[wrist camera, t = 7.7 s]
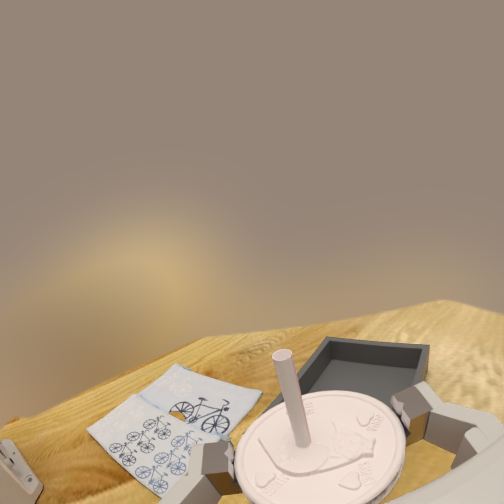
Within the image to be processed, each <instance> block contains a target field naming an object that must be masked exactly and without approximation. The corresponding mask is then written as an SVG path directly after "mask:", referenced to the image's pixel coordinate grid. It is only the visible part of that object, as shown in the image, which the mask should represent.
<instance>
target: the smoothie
mask: <svg viewBox="0 0 504 504" xmlns="http://www.w3.org/2000/svg"><path fill="white" fill-rule="evenodd" d="M272 358H273V361H274V365H275V369H276V372H277V376H278V380H279V383H280V387H281V391H282V394H283V398H284V402H282V403H280V404H278V405H276V406H275V407H273V408H271V409H270V410H268V411H267V412H265V413H264V414H262V415H261V416H260V417H259V418H258V419H256V420H255V421H254V422H253V423H252V424H251V425H250V426H249V428H248V429H247V430H246V431H245V433H244V434H243V436H242V438H241V439H240V441H239V444H238V446H237V449H236V452H235V458H234V468H235V474H236V478H237V480H238V483H239V485H240V486H241V488H242V491H243V494H244V495H245V497H246V498H247V499H248V501H249V502H250V503H251V504H378V503H380V502H381V501H382V500H383V499H384V498H385V497H386V496H387V495H388V494H389V493H390V491H391V490H392V488H393V487H394V485H395V484H396V482H397V481H398V479H399V478H400V475H401V472H402V468H403V465H404V461H405V444H406V440H405V433H404V429H403V426H402V424H401V422H400V420H399V418H398V417H397V416H396V414H395V413H394V412H393V411H392V410H391V409H390V408H389V407H388V406H387V405H385V404H384V403H382V402H381V401H379V400H377V399H375V398H373V397H370V396H368V395H365V394H361V393H357V392H351V391H338V390H333V391H320V392H314V393H308V394H305V395H301V391H300V387H299V382H298V378H297V373H296V369H295V364H294V360H293V355H292V352H291V351H290V350H288V349H281V350H278V351H276V352H275V353H274V354H273V356H272Z"/></svg>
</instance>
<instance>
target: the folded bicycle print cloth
mask: <svg viewBox="0 0 504 504" xmlns="http://www.w3.org/2000/svg"><path fill="white" fill-rule="evenodd" d="M262 395H263V392H262V391H260V390H255V389H248V388H244V387H240V386H236V385H233V384H230V383H227V382H223V381H220V380H217V379H213V378H210V377H207V376H204V375H201V374H198V373H195V372H192V370H190V369H188V368H186V367H183V366H181V365H179V364H177V363H175V364H174V365H172V366H171V368H170V369H169V370H168V371H166V372H165V373H164V374H163V375H162V376H161V377H160V378H158V379H157V380H156V381H154V382H153V383H152V384H150V385H149V386H148V387H146V388H145V389H144V390H142V391H141V392H140V393H138V394H133V395H131V396H130V397H129V398H128V399H127V400H125V401H124V402H123V403H122V404H120V405H119V406H118V407H116V408H115V409H113V410H112V411H111V412H110V413H109V414H107V415H106V416H105V417H104V418H102V419H100V420H99V421H97V422H96V423H95V424H94V425H92V426H90V427H88V428H86V431H87V432H88V433H89V434H90V435H91V436H92V437H93V438H94V439H95V440H96V441H97V442H98V443H99V444H100V445H101V446H102V447H103V448H104V449H105V451H106V452H107V453H108V454H109V455H110V456H111V457H112V458H113V459H115V460H116V461H117V462H118V463H119V464H120V465H121V466H122V467H123V468H124V469H126V470H127V471H128V472H129V473H130V474H131V475H132V476H134V477H135V478H136V479H137V480H138V481H139V482H140V483H142V484H143V485H144V486H146V487H147V488H148V489H149V490H150V491H152V492H153V493H155V494H156V495H158V496H159V497H160V498H163V497H164V496H165V495H166V494H167V493H168V492H169V491H170V490H171V489H172V488H173V487H174V486H175V485H176V484H177V483H178V482H179V481H180V480H181V479H182V478H183V477H184V476H188V468H189V460H190V452H191V447H192V445H193V444H204V443H214V442H223V441H227V440H229V439H231V437H228V435H229V434H230V433H231V432H232V431H233V430H234V429H235V427H236V426H237V425H238V424H239V423H240V422H241V420H242V419H243V418H244V417H245V416H246V415H247V414H248V413H249V412H250V410H251V409H252V408H253V407H254V406H255V405H256V403H257V402H258V401H259V399H260V398H261V396H262ZM169 412H181V413H183V414H184V417H185V420H186V422H183V421H181V420H179V419H177V418H175V417H173V416H172V415H170V414H168V413H169Z"/></svg>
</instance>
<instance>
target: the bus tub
mask: <svg viewBox="0 0 504 504" xmlns="http://www.w3.org/2000/svg"><path fill="white" fill-rule="evenodd" d="M429 349H430V345H422V344H405V343H390V342H377V341H366V340H355V339H345V338H336V337H327V336H326V338H325V339H324V340H323V342H322V343H321V344H320V346H319V347H318V348H317V349H316V351H315V352H314V353H313V354H312V356H311V357H310V358H309V359H308V361H307V362H306V363H305V364H304V366H303V367H302V368H301V369H300V371H299V372H298V373H297V378H298V382H299V387H300V391H301V395H305V394H308V393H314V392H320V391H333V390H338V391H351V392H357V393H361V394H365V395H368V396H370V397H373V398H375V399H377V400H379V401H381V402H382V403H384V404H385V405H387V406H388V407H389V408H391V407H392V405H391V403H390V397H391V395H394V394H396V393H398V392H400V391H403V390H405V389H407V388H409V387H411V386H414V385H416V384H418V383H420V382H423V381H425V378H426V374H427V370H428V360H429ZM282 402H284V398H283V394H282V392H281V393H280V394H279V395H278V396H277V397H276V399H275V400H274V401H273V402H272V403H271V404H270V405H269V406H268V407H267V409H266V410H265V411H264V412H263V413H262V414H264V413H265V412H267V411H268V410H270V409H271V408H273V407H275V406H276V405H278V404H280V403H282ZM262 414H261V415H262ZM261 415H260V416H261ZM260 416H259V417H260ZM259 417H258V418H259ZM258 418H257V419H258ZM244 433H245V432H244ZM244 433H243V434H244Z"/></svg>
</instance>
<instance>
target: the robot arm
mask: <svg viewBox="0 0 504 504" xmlns="http://www.w3.org/2000/svg"><path fill="white" fill-rule="evenodd" d="M390 403H391V405H392V407H391V408H390V409H391V410H392V411H393V412H394V413H395V414H396V416H397V417H398V418H399V420H400V422H401V424H402V426H403V429H404V433H405V440H406V444H405V447H406V446H409V445H411V444H413V443H415V442H418V441H420V440H422V439H424V440H426V441H428V442H430V443H432V444H434V445H436V446H438V447H440V448H443V449H445V450H447V451H449V452H451V453H454V454H456V456H455V458H454V461H453V463H452V465H451V469H452V470H451V471H449V472H448V473H446V474H444V475H442V476H441V477H439V478H437V479H435V480H433V481H431V482H429V483H428V484H426V485H424V486H422V487H420V488H418V489H416V490H413V491H411V492H409V493H407V494H405V495H403V496H400V497H398V498H396V499H394V500H391V501H389V502H386V503H384V504H504V426H503V424H502V423H501V422H500V421H499V420H498V419H497V418H496V417H495V416H494V415H493V414H492V413H488V412H484V411H480V410H476V409H472V408H468V407H464V406H460V405H457V404H453V403H449V402H446V403H444V402H443V401H442V400H441V399H440V398H439V397H438V395H437V394H436V393H435V392H434V391H433V390H432V388H431V387H430V386H429V385H428V384H427V383H426V382H425V381H423V382H420V383H418V384H416V385H414V386H411V387H409V388H407V389H405V390H403V391H400V392H398V393H396V394H394V395H391V397H390ZM235 452H236V451H234V449H233V444H232V442H231V441H223V442H214V443H204V444H193V445H192V447H191V452H190V460H189V468H188V476H184V477H183V478H182V479H181V480H180V481H179V482H178V483H177V484H176V485H175V486H174V487H173V488H172V489H171V490H170V491H169V492H168V493H167V494H166V495H165V496H164V497H163V498H162V499H161V500H160V501H159V502H158V503H157V504H217V503H218V502H219V500H220V499H221V497H222V496H223V495H232V494H239V493H242V488H241V486H240V485H239V483H238V480H237V478H236V474H235V468H234V458H235ZM42 488H43V484H42V482H41V481H40V480H39V478H38V477H37V476H36V474H35V473H34V471H33V470H32V469H31V467H30V466H29V464H28V463H27V461H26V460H25V458H24V457H23V455H22V454H21V452H20V451H19V449H18V447H17V446H16V444H15V443H14V442H13V441H12V440H11V439H4V440H0V504H35V501H36V499H37V498H38V496H39V495H40V493H41V491H42Z"/></svg>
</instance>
